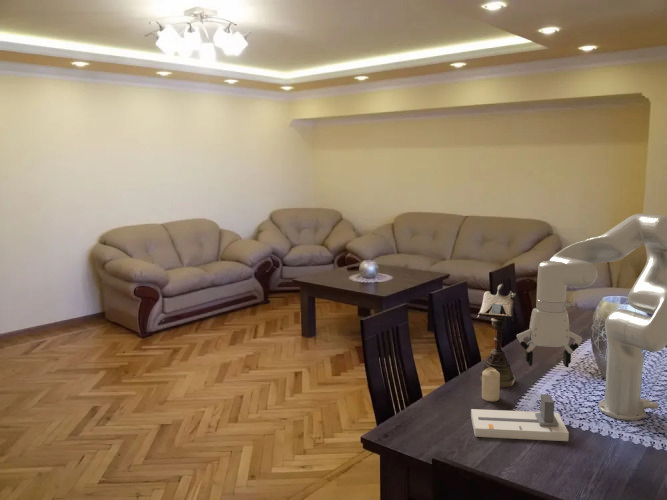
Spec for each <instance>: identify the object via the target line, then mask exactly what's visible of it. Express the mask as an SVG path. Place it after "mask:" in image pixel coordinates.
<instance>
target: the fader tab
mask: <svg viewBox="0 0 667 500" xmlns="http://www.w3.org/2000/svg"><path fill="white" fill-rule="evenodd" d="M539 409H540V411H539V412H540V413H535V416H536V418H537V420H538V423H539V425H545V426H558V424H559V423H558V422H557V420H556V418H555V416H554V413H555V401H554V400H553V398H552V396H551V394H543V393H542V394H540V407H539Z"/></svg>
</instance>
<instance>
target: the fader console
mask: <svg viewBox="0 0 667 500" xmlns="http://www.w3.org/2000/svg"><path fill="white" fill-rule="evenodd" d="M535 413H540V411H527V410H526V411H525V410H501V409H500V410H499V409H476V408H471V409H470V418H471V424H472V428H473V433H474V437H478V438H479V437H480V438H492V439H493V438H497V439H512V440H513V439H516V440H517V439H518V440H537V441H555V442H556V441H560V442H569V440H570V439H569V437H570V436H569V435H570V432H569V431H568V428H567V427H566V425H565V423H564V421H563V419H562V417H561V416H560V414H559V413H558V412H554V416H555V418H556V420H557V422H558V423H559V424H558V426H545V425H539V423H538V420H537V418H536V416H535Z"/></svg>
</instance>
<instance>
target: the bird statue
mask: <svg viewBox="0 0 667 500" xmlns="http://www.w3.org/2000/svg"><path fill="white" fill-rule="evenodd" d="M503 289H504V283H500V284H499V285H498V286H497V292H496V294H493V293H491V291H489V290H487V291H485V292H484V293H483V299H482V304H481V307H480V310H479V312H478V313H477V314H478V315H477V317H476V319H478V318H480V317H481V316H483V317H485V318H490V321H491V326H492V327H493V328H494V338H493V340H494V343H493V345H494V348H493V349H492V350H491V351H490V356H489V358H488V359H487V360H486V362H485V363H484V367H483V370H482V371H481V373H480V375H479V381H480V382H482V372H483V371H484V370H485V369H487V368H491V367H493V368H494V369H496V370H497V371H498V372H499V373H500V388H506V387H512V386H513V385H514V383H516V376H515V375H514V373H513V371H512V368H511V365H510V362H508V359H507V357H506V353H505V351H504V350H503V349H502V342H503V341H504V340H503V334H502V332H503V329H504V328H505V327H506V322H507V318H509V319H511V321H512V322H514V320H515V318H514V310H515V308H514V307H515V303H516V299H517V294H516V293H513V292H512V290H510V291H509V293H508V295H504V294H503ZM490 309H491V310H490ZM488 311H489V312H488ZM503 311H504V313H503Z"/></svg>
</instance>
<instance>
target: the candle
mask: <svg viewBox="0 0 667 500" xmlns="http://www.w3.org/2000/svg"><path fill="white" fill-rule="evenodd" d="M482 371H483V370H482ZM482 371H481V373H482V381H481V399H483V401H487V402H497V401H499V400H500V388H501V387H500V373H499V372H498V371H497V370H496V369H494V368H493V367H491V368H487V369H485V370H484V371H483V372H482Z"/></svg>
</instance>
